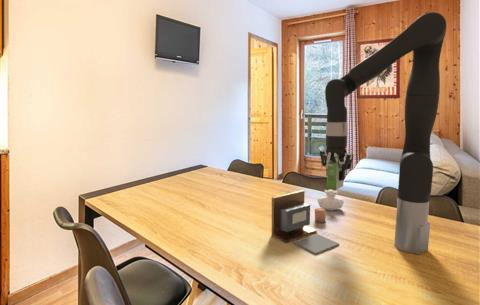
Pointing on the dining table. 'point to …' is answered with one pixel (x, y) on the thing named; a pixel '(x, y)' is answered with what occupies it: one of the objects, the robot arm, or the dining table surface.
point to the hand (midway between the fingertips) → (335, 178)
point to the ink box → (333, 175)
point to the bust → (330, 201)
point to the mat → (316, 244)
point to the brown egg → (320, 215)
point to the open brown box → (290, 217)
